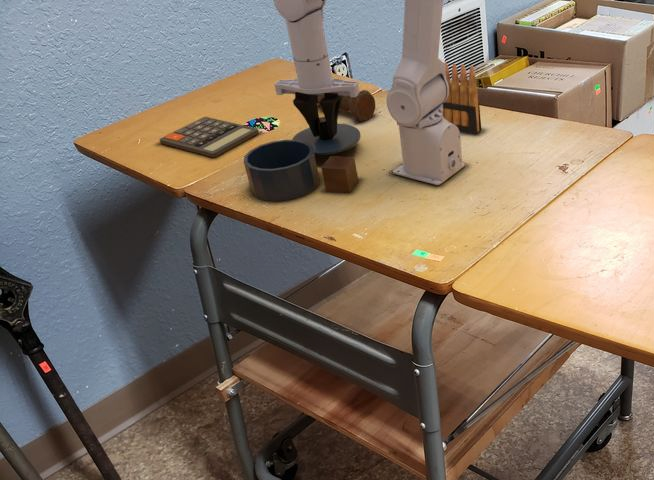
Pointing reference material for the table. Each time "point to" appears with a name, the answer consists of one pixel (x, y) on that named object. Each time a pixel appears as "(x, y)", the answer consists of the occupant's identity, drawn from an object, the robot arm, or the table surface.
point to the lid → (329, 138)
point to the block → (339, 174)
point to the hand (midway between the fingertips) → (325, 134)
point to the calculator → (209, 136)
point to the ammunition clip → (462, 101)
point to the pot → (281, 170)
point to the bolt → (357, 105)
